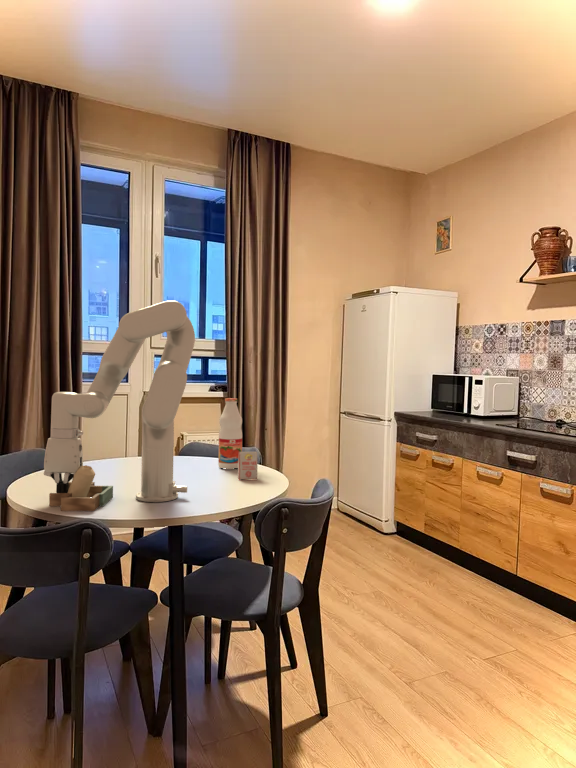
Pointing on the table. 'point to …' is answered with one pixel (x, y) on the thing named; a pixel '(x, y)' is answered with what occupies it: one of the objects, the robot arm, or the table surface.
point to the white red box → (247, 465)
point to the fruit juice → (230, 435)
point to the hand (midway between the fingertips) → (62, 495)
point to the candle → (82, 481)
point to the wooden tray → (82, 499)
